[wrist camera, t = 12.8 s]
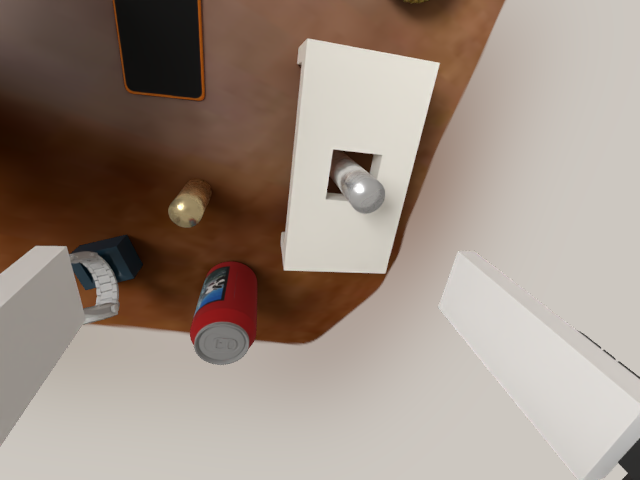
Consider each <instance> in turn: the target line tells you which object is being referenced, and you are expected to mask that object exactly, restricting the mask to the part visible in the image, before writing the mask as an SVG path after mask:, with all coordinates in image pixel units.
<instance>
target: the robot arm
mask: <svg viewBox="0 0 640 480" xmlns="http://www.w3.org/2000/svg"><path fill="white" fill-rule="evenodd" d="M438 308H439V309H440V311H441V312H442V313H443V315H444V316H445V317H446V318H447V320H448V321H449V322H450V323H451V324H452V326H453V327H454V328H455V329H456V331H457V332H458V333H459V334H460V335H461V337H462V338H463V339H464V340H465V342H466V343H467V344H468V345H469V346H470V348H471V349H472V350H473V352H474V353H475V354H476V355H477V356H478V358H479V359H480V360H481V361H482V363H483V364H484V365H485V366H486V368H487V369H488V370H489V371H490V372H491V374H492V375H493V376H494V377H495V379H496V380H497V381H498V382H499V384H500V385H501V386H502V387H503V389H504V390H505V391H506V392H507V393H508V394H509V396H510V397H511V398H512V400H513V401H514V402H515V403H516V405H517V406H518V407H519V408H520V409H521V411H522V412H523V413H524V414H525V416H526V417H527V418H528V419H529V421H530V422H531V423H532V424H533V426H534V427H535V428H536V429H537V430H538V432H539V433H540V434H541V435H542V437H543V438H544V439H545V440H546V441H547V442H548V444H549V445H550V447H551V448H552V449H553V450H554V451H555V453H556V454H557V455H558V456H559V458H560V459H561V460H562V461H563V463H564V464H565V465H566V466H567V467H568V469H569V470H570V471H571V472H572V474H573V475H574V476H575V477H576V479H577V480H597V479H602V478H605V477H606V476H607V475H608V474H609V472H610V471H611V470H612V469H613V468H614V467H615V466H616V465H617V464H618V463H619V464H620V465H621V466H622V467H623V468H624V469H625V470H626V471H627V472H628V474H627V475H626V476H625V477H624V478H623V479H622V480H640V377H639V376H637V375H636V374H635V373H634V372H632V371H631V370H630V369H628V368H627V367H626V366H624V365H623V364H622V363H621V362H617V361H616V360H615V358H614V357H613V356H612V355H610V354H609V353H608V352H606V351H605V350H601V347H600V346H599V345H597V344H596V343H595V342H593V341H592V340H591V339H590V338H588V337H587V336H586V335H584V334H583V333H581V332H579V331H577V330H576V329H574V328H573V327H572V326H570V325H569V324H568V323H567V322H565V321H564V320H563V319H562V318H560V317H559V316H558V315H556V314H555V313H554V312H553V311H551V310H550V309H549V308H547V307H546V306H545V305H544V304H542V303H541V302H540V301H538V300H537V299H536V298H535V297H533V296H532V295H531V294H529V293H528V292H527V291H526V290H524V289H523V288H522V287H520V286H519V285H518V284H517V283H515V282H514V281H513V280H511V279H510V278H509V277H508V276H506V275H505V274H504V273H502V272H501V271H500V270H498V269H497V268H496V267H495V266H493V265H492V264H491V263H490V262H488V261H487V260H486V259H484V258H483V257H482V256H480V255H479V254H478V253H477V252H475V251H458V252H457V255H456V258H455V261H454V263H453V266H452V269H451V272H450V275H449V278H448V281H447V283H446V286H445V289H444V292H443V295H442V298H441V301H440V303H439V306H438ZM85 320H86V318H85V314H84V310H83V307H82V303H81V299H80V295H79V292H78V288H77V284H76V280H75V276H74V273H73V269H72V265H71V261H70V258H69V254H68V250H67V246H35V247H34V248H32V249H31V250H30V251H29V252H27V253H26V254H25V255H24V256H22V257H21V258H20V259H19V260H17V261H16V262H15V263H14V264H12V265H11V266H10V267H8V268H7V269H6V270H5V271H3V272H2V273H1V274H0V446H1V445H2V443H3V442H4V440H5V439H6V437H7V436H8V434H9V433H10V431H11V430H12V428H13V427H14V425H15V424H16V422H17V421H18V420H19V418H20V417H21V415H22V414H23V412H24V411H25V409H26V408H27V406H28V405H29V403H30V402H31V400H32V399H33V397H34V396H35V394H36V393H37V391H38V390H39V388H40V386H41V385H42V384H43V382H44V381H45V380H46V378H47V377H48V375H49V374H50V372H51V371H52V369H53V368H54V366H55V365H56V363H57V361H58V360H59V359H60V357H61V356H62V354H63V353H64V351H65V350H66V348H67V347H68V345H69V344H70V342H71V341H72V339H73V338H74V337H75V335H76V334H77V332H78V331H79V329H80V328H81V326H82V325H83V323H84V322H85Z"/></svg>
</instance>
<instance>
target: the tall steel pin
mask: <svg viewBox="0 0 640 480" xmlns="http://www.w3.org/2000/svg"><path fill="white" fill-rule="evenodd" d="M329 176H330V177H331V178H332V180H333V181H334V182H335V184H336V185H337V186H338V188H339V189H340V190H341V192H342V193H343V194H344V196H345V197H346V198H347V200H348V201H349V203H350V204H351V205H352V207H353V208H354V209H355V210H356V211H358V212H360V213H364V214H367V213H372V212H374V211H376V210H377V209H379V208H380V206H381V205H382V204H383V202H384V199H385V189H384V187H383V185H382V184H381V183H380V182H379V181H378V180H376V179H375V178H374V177H373V176H372V175H370V174H369V173H368V172H367V171H366V170H364V169H363V168H362V167H361V166H360V165H358V164H357V163H356V162H355V161H354V160H352V159H351V158H350V157H349V156H347V155H346V154H345V153H344V152H343V151H341V150H333V154H332V160H331V167H330V174H329Z"/></svg>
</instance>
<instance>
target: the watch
mask: <svg viewBox="0 0 640 480" xmlns="http://www.w3.org/2000/svg"><path fill="white" fill-rule="evenodd" d="M69 258H70V261H71V265H72V269H73V272H74V273H75V275H76V276H77V278H78V279H79V281H80V282H81V284H82V285H83V287H84V288H85V290H88V289H93V288H97V289H96V290H97V296H98V297H97V300H96V305H95V306H92V307H88V308H84V309H83V310H84V314H85V318H86V320H85V322H84V323H83V325H84V324H88V323H92V322H95V321H99V320H103V319H106V318H110V317H112V316H115V315H117V314H118V312H117V311H119V302H118V299H119V292H118V291H119V289H118V284H117V282H121V281H125V280H130V279H134V278H135V276H136V275H137V273H138V272H139V270H140V269H141V267H142V266H143V264H142V262H141V260H140V258H139V256H138V254H137V253H136V251H135V249H134V247H133V245H132V243H131V241H130V239H129V237H128V236H127V235H123V236H119V237H114V238H110V239H106V240H102V241H97V242H93V243H89V244H84V245H80V246H79V247H78V248H76V249H75V250H74V251H73V252H72V253H71V254H69ZM110 290H111V291H110ZM106 291H107V292H106Z"/></svg>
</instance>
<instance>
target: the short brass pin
mask: <svg viewBox="0 0 640 480" xmlns="http://www.w3.org/2000/svg"><path fill="white" fill-rule="evenodd" d="M211 195H212V190H211V187H210V186H209V184H208V183H207V182H205V181H204V180H201V179H192V180H190V181H189V182H188V183H187V184H186V185H185V186H184V188H183V189H182V190H181V191H180V193H179V194H178V195H177V197H176V198H175V199H174V201H173V202H172V203H171V204H170V206H169V210H168V212H169V216H170V218H171V220H172V221H173V222H174V223H175V224H177V225H178V226H181V227H186V228H188V227H193V226H195V225H197V224H198V223H199V222H200V220H201V218H202V215H203V213H204V211H205V209H206V207H207V205H208V202H209V200H210V198H211Z"/></svg>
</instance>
